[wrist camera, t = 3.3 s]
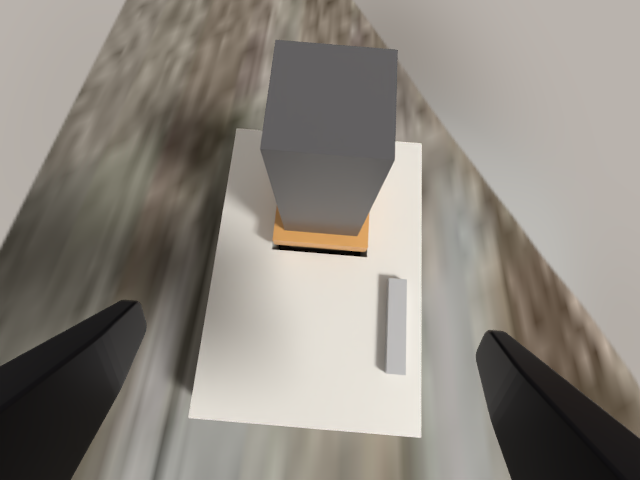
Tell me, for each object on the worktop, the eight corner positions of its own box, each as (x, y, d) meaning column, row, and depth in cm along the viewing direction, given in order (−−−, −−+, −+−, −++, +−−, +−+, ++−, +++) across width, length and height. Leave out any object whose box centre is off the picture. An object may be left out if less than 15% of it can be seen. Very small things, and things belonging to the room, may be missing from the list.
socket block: (405, 421, 20) (425, 441, 16) (206, 404, 20) (184, 421, 16) (408, 165, 24) (424, 138, 20) (245, 152, 24) (234, 122, 20)
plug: (357, 263, 22) (414, 180, 9) (280, 256, 22) (236, 165, 9) (360, 192, 23) (415, 36, 11) (288, 186, 23) (259, 23, 11)
